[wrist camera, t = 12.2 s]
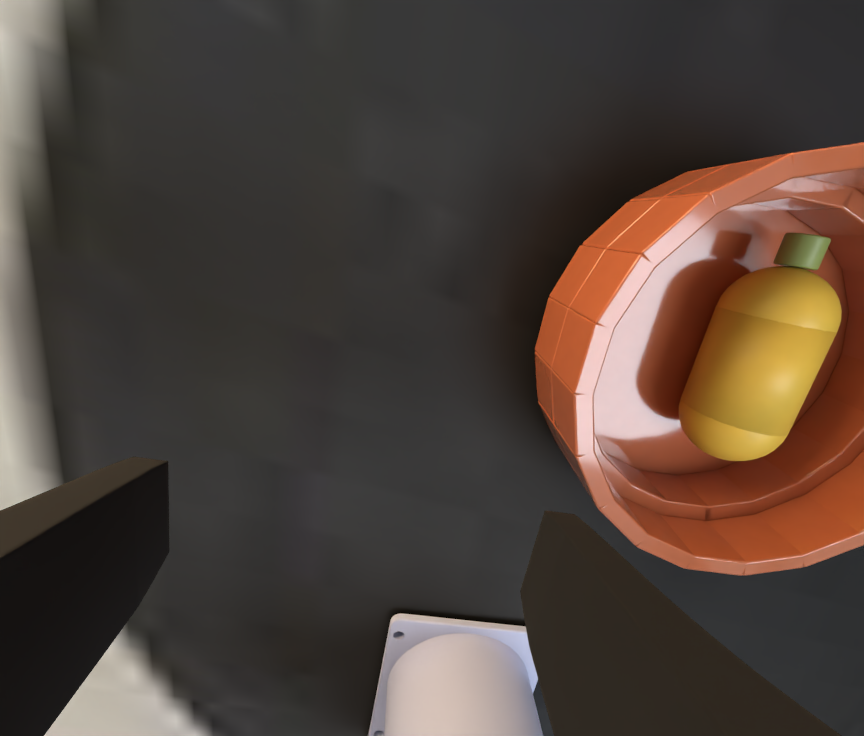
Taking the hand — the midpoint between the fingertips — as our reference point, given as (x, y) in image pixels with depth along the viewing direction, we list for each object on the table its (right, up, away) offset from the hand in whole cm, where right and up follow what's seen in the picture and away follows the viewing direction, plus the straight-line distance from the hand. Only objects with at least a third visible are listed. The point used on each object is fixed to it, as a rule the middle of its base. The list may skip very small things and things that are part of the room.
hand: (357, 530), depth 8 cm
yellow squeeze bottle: (+12, +4, +8) cm, 15 cm away
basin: (+12, +4, +9) cm, 16 cm away
